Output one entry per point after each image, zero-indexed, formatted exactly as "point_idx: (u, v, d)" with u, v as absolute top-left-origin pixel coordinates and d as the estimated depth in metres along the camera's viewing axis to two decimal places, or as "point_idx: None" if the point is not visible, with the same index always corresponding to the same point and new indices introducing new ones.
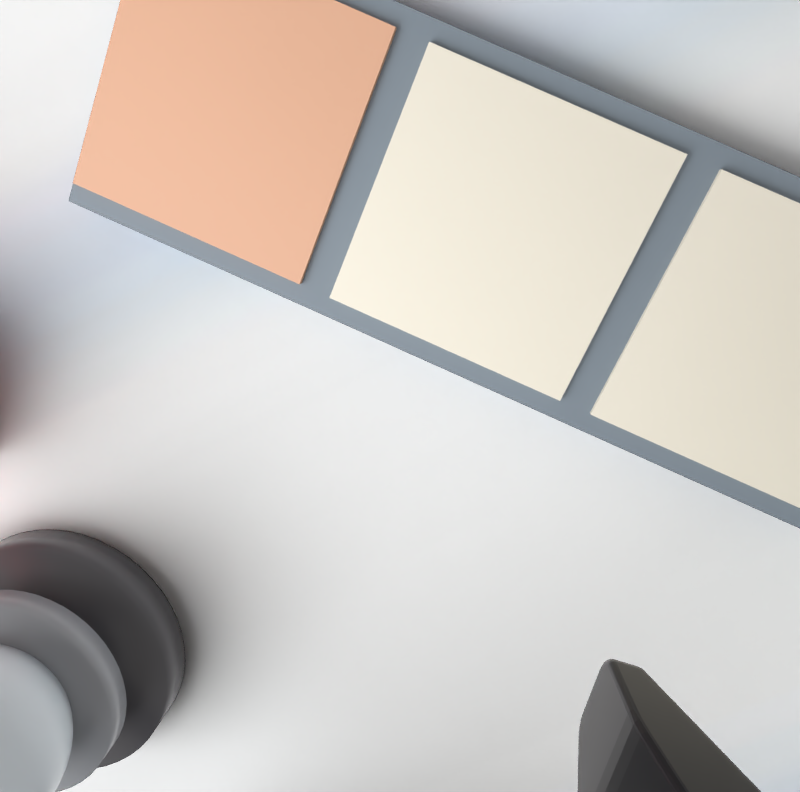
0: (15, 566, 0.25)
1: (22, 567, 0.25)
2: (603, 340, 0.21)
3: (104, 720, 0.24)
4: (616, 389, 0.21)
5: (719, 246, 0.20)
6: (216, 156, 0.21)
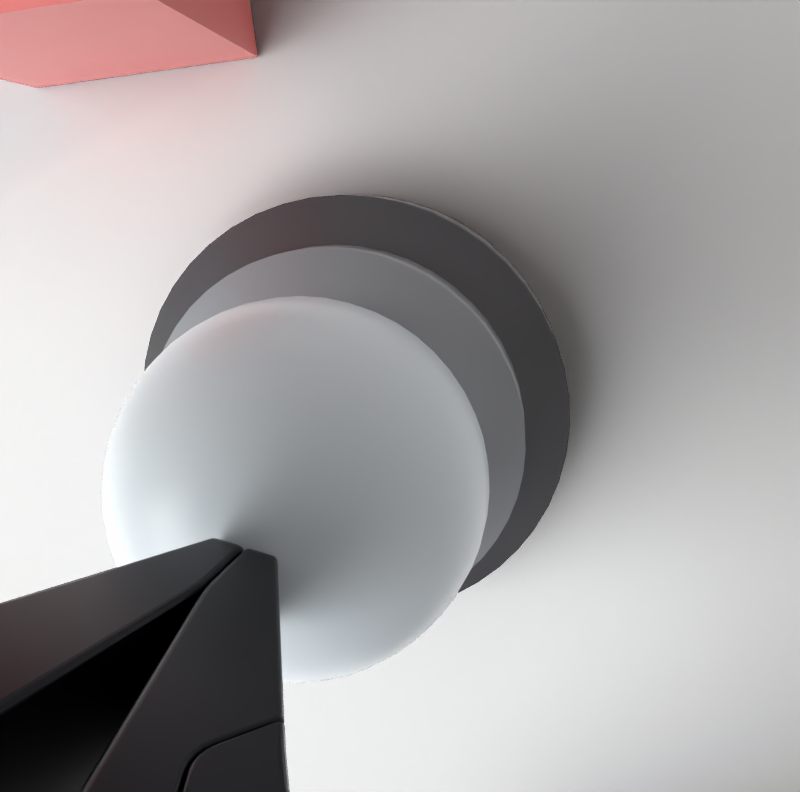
0: (314, 231, 0.14)
1: (327, 232, 0.14)
2: None
3: (511, 466, 0.13)
4: None
5: None
6: None
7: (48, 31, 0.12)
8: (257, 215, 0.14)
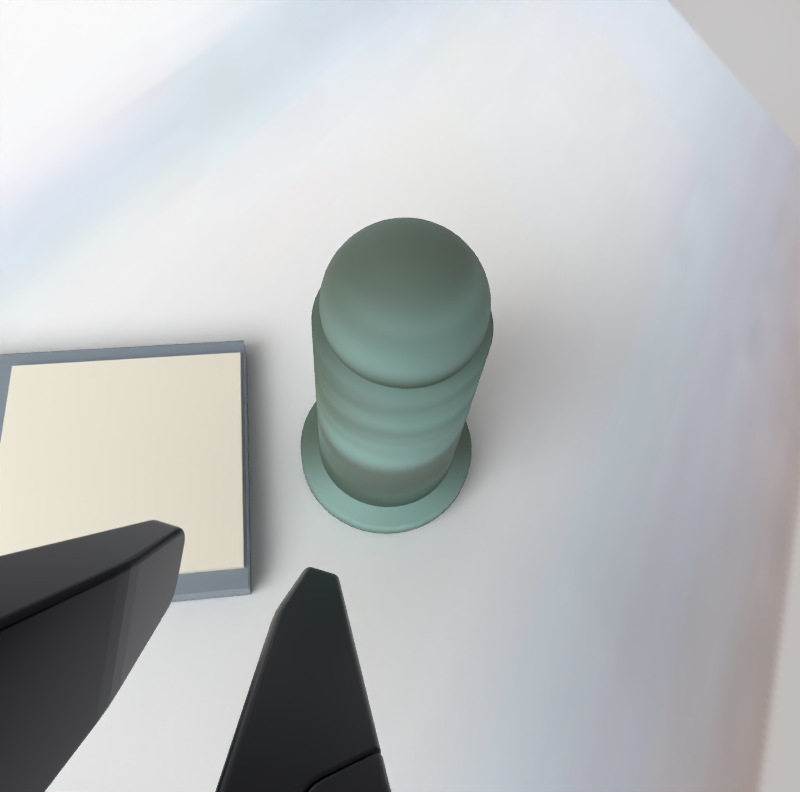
0: None
1: None
2: None
3: None
4: None
5: (35, 411, 0.23)
6: None
7: None
8: None
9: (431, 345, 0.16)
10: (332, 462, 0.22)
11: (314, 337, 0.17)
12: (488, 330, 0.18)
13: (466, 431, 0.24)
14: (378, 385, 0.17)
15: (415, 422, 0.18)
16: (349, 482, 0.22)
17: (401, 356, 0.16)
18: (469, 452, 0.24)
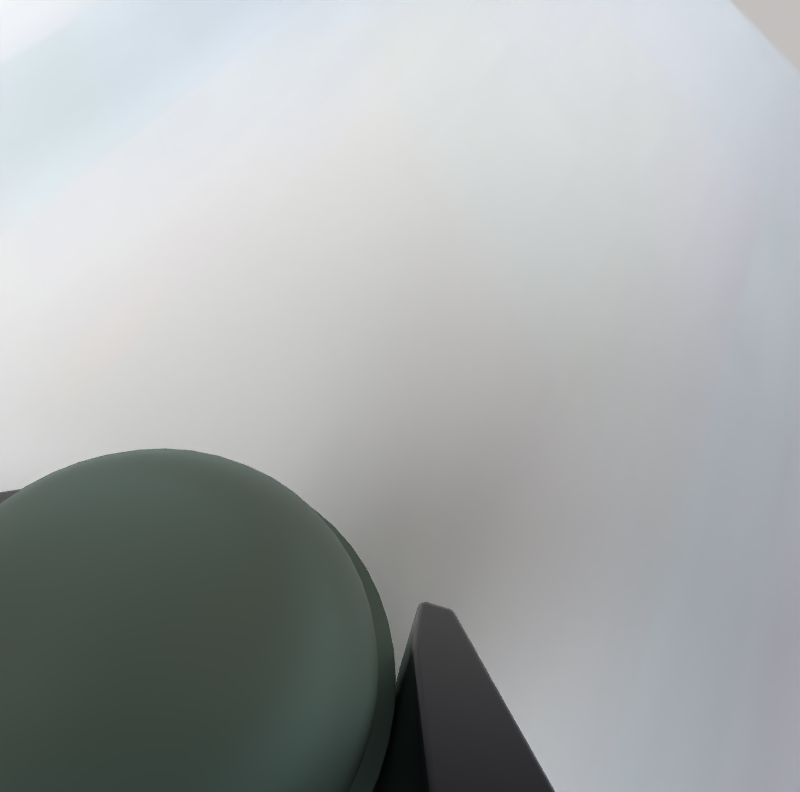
0: None
1: None
2: None
3: None
4: None
5: None
6: None
7: None
8: None
9: None
10: None
11: None
12: (382, 704, 0.07)
13: None
14: None
15: None
16: None
17: None
18: None
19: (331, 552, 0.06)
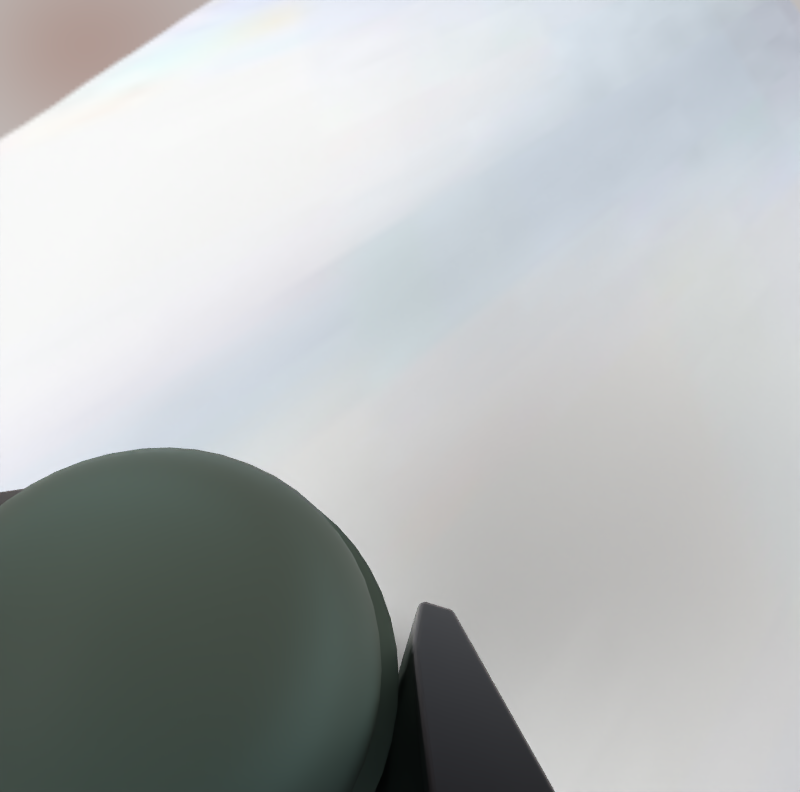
0: None
1: None
2: None
3: None
4: None
5: None
6: None
7: None
8: None
9: None
10: None
11: None
12: (386, 703, 0.07)
13: None
14: None
15: None
16: None
17: None
18: None
19: (335, 551, 0.06)
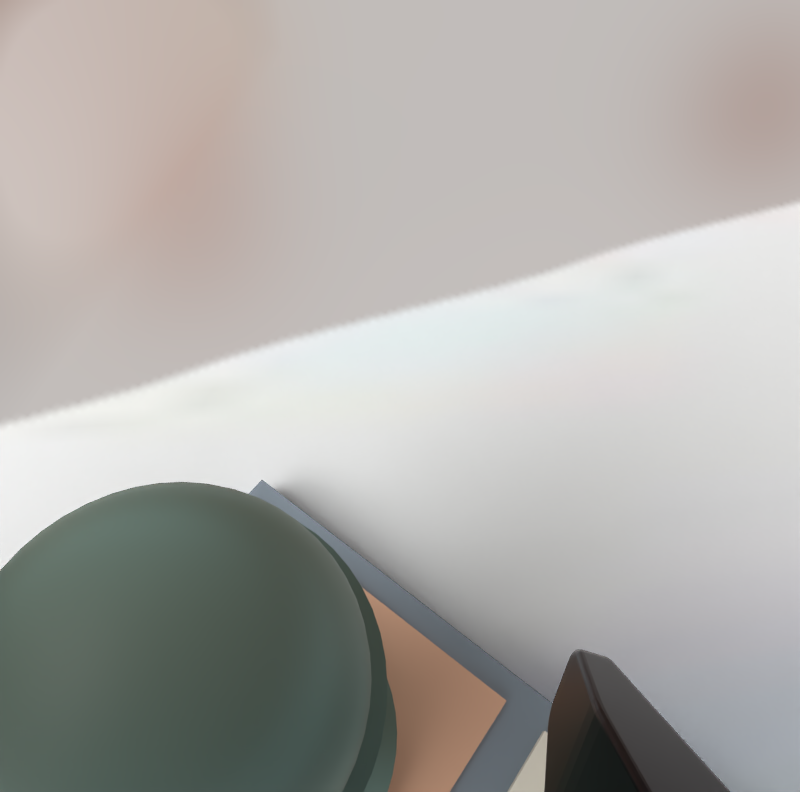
0: None
1: None
2: None
3: None
4: None
5: None
6: None
7: None
8: None
9: None
10: None
11: None
12: (375, 709, 0.08)
13: (390, 705, 0.15)
14: None
15: None
16: None
17: None
18: (393, 748, 0.14)
19: (329, 575, 0.07)
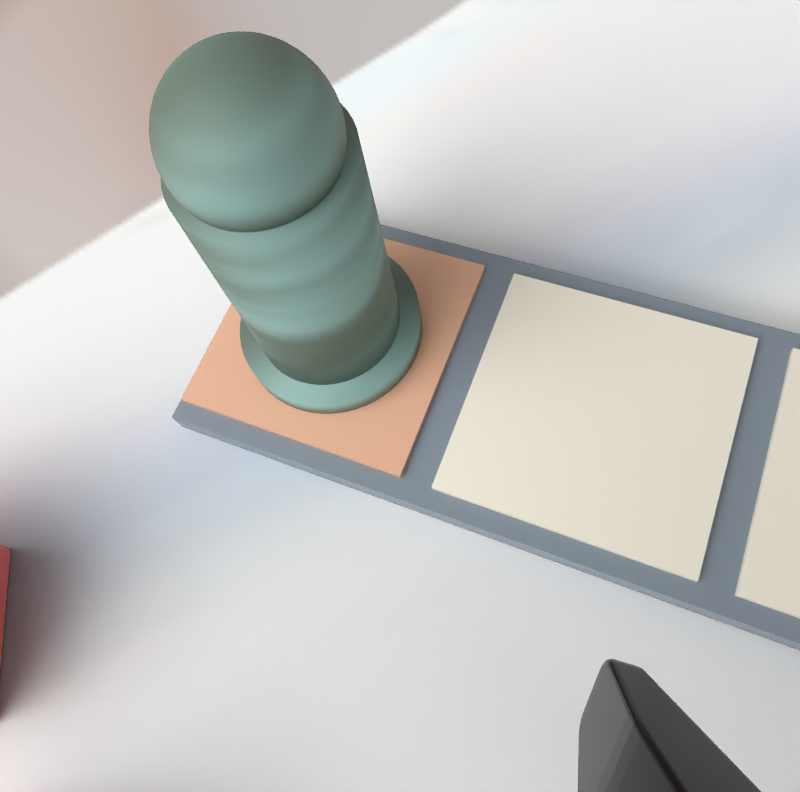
0: None
1: None
2: (727, 512, 0.20)
3: None
4: (758, 562, 0.19)
5: None
6: None
7: None
8: None
9: (277, 161, 0.14)
10: (270, 351, 0.20)
11: (170, 208, 0.16)
12: (353, 137, 0.16)
13: (407, 279, 0.23)
14: (250, 234, 0.15)
15: (310, 265, 0.16)
16: (295, 366, 0.21)
17: (249, 186, 0.14)
18: (416, 299, 0.22)
19: (302, 53, 0.15)
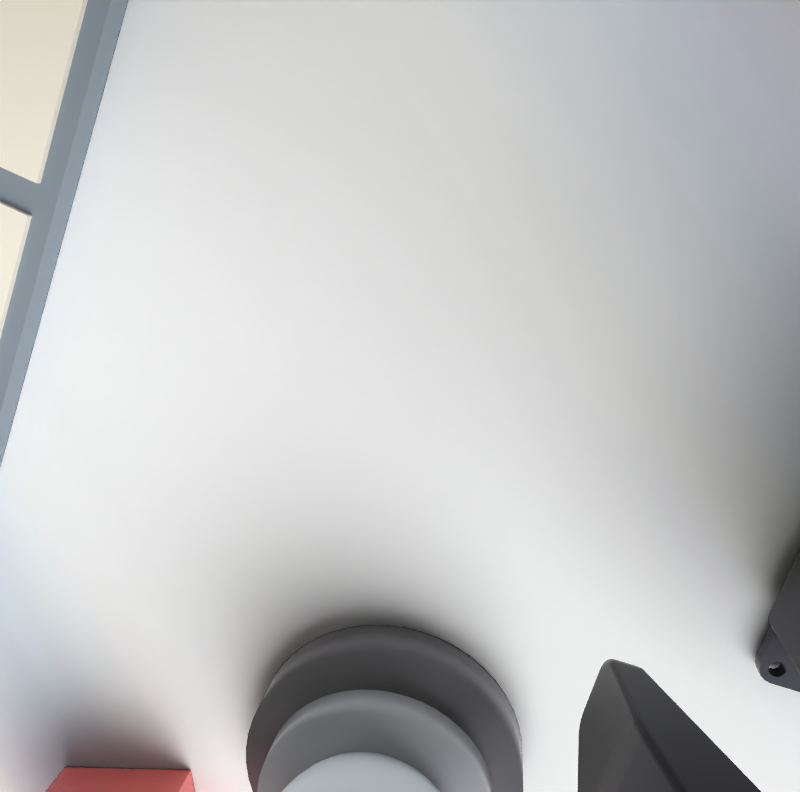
0: None
1: None
2: None
3: (381, 720, 0.21)
4: (7, 157, 0.20)
5: None
6: None
7: None
8: None
9: None
10: None
11: None
12: None
13: None
14: None
15: None
16: None
17: None
18: None
19: None
